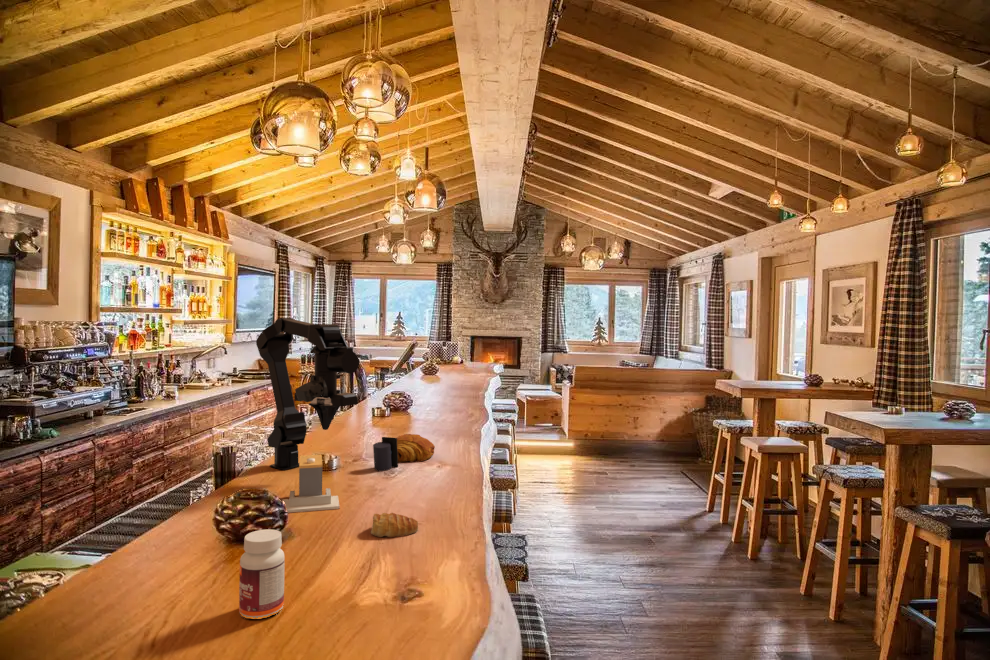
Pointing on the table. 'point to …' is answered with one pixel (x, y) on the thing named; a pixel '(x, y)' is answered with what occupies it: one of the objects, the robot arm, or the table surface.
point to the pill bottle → (261, 574)
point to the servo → (310, 475)
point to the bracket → (311, 502)
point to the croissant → (414, 448)
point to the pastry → (393, 525)
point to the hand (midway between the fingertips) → (325, 429)
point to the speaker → (385, 454)
